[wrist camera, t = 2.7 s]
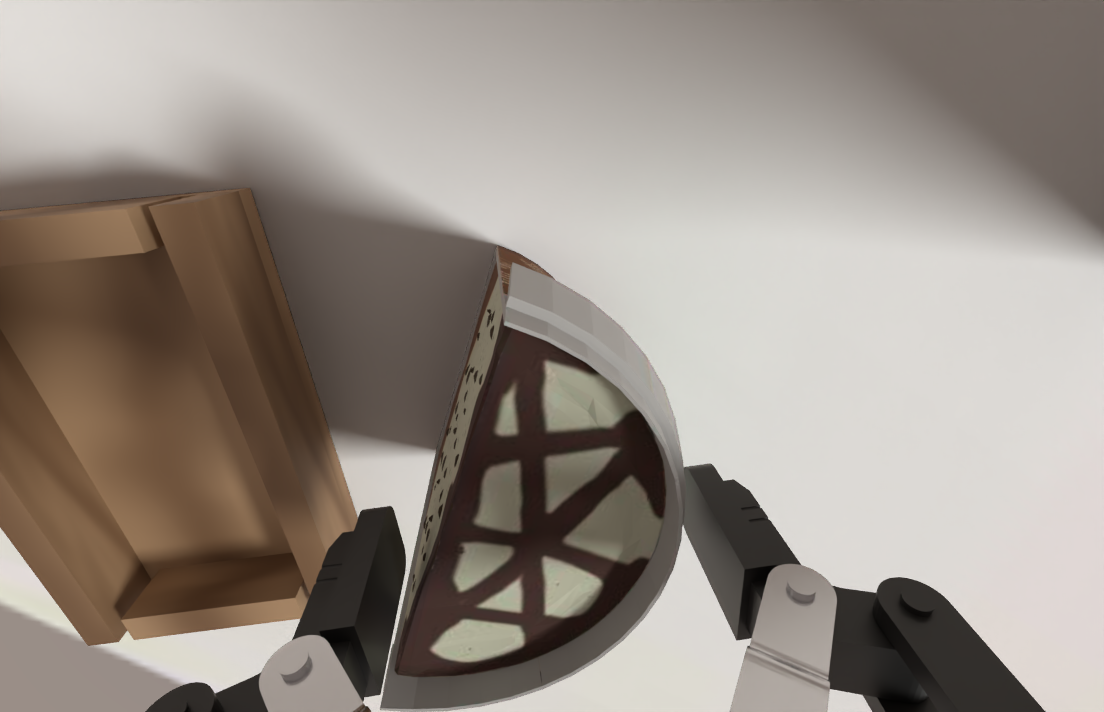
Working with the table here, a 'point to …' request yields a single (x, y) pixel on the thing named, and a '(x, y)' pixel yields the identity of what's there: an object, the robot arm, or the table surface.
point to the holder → (160, 418)
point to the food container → (538, 502)
